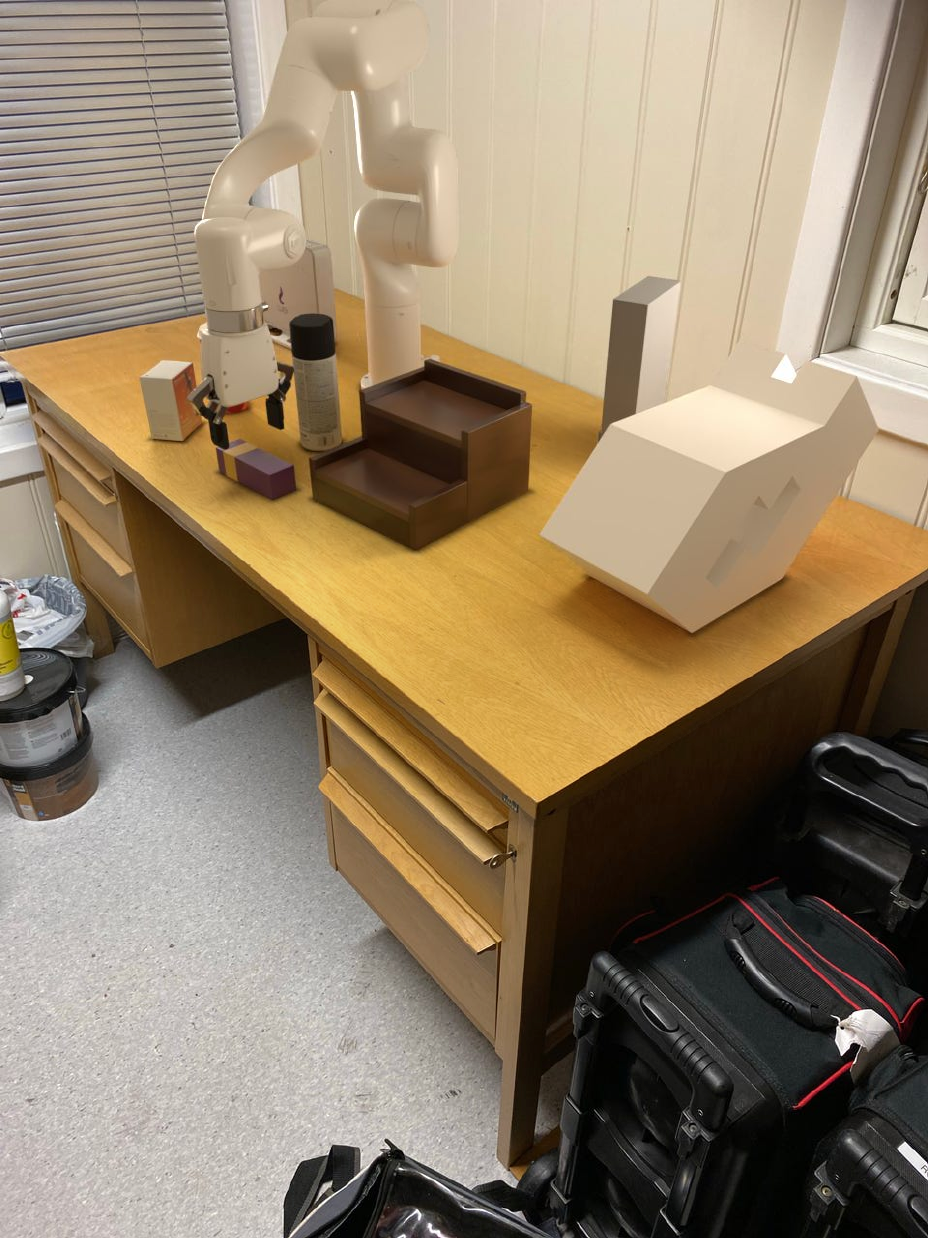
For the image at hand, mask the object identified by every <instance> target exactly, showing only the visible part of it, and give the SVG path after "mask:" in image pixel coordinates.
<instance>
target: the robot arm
mask: <svg viewBox="0 0 928 1238" xmlns="http://www.w3.org/2000/svg"><path fill="white" fill-rule="evenodd" d="M430 41H431V29H430V24H429V20H428V17H427V15H426V12H425V11H424V10H423V8H422V7H421V6H420V5H418V4H417V3H416V2H414V1H412V0H325V1H323V2H321V3H319V5H318V6H317V7H316V9H315V11H314V12H313V16H308V17H303V18H300V19H298V20H296V21H294V23H292V24H291V26H290V27H289V28H288V30H287V32H286V34H285V37H284V41H283V43H282V47H281V51H280V54H279V57H278V61H277V64H276V68H275V70H274V74H273V78H272V81H271V85H270V88H269V92H268V94H267V98H266V102H265V106H264V109H263V113H262V116H261V119H260V121H259V123H258V124H257V125H256V126H255V127H254V128H253V129H252V130H250V131H249V132H248V133H247V134H246V135H245V136H244V137H243V138H241V140H239V142H238V143H237V144H236V145H235V146H234V148H232V150H231V151H230V152H228V154H227V155H225V157H224V159H223V160H222V161H221V162H220V164H219V166H218V167H217V169H216V170H215V173H214V175H213V176H212V180H211V183H210V185H209V189H208V193H207V196H206V200H205V204H204V206H203V207H204V208H203V211H202V212H203V213H202V217H201V221H199V222H198V223H197V224H196V226H195V228H194V232H193V233H194V243H195V244H194V245H195V251H196V258H197V259H196V260H197V264H198V265H197V266H198V272H199V277H200V278H199V279H200V287H201V293H202V300H203V308H204V314H205V321H206V322H205V323H207V329H206V330H203V331H202V338H201V343H200V371H201V382H200V383H199V384H198V385H197V387H196V388H195V389H194V390H193V391H192V392H191V393H190V394H189V395H188V397H187V399H188V401H189V402H190V404H191V405H192V406H193V408H194V409H195V411H196V412H197V413H198V414H200V415H201V416H202V418H204V419H205V420H207V423H208V429H209V437H210V441H211V442H212V444H213V445H214V446H216V447H220V448H222V449H224V450H226V449H229V447H230V446H229V443H230V440H229V431H228V426H227V422H225V421H223V420H224V418H225V416H226V414H227V413H226V412H227V410H228V408H229V407H232V406H236V405H239V404H242V403H245V402H247V403H249V402H251V401H254V400H257V399H260V398H263V397H266V398H265V402H264V403H265V413H266V423H267V425H268V426H270V427H272V428H274V429H277V430H279V431H282V430H284V429H285V412H284V403H285V402H286V400H287V394H288V391H289V390H290V388H291V386H292V383H291V381H292V379H293V377H294V367H293V365H290V364H287V363H284V362H280V361H278V360H277V356H276V352H275V347H274V342H273V341H272V338H271V335H272V334H271V332H270V329H268V326H267V323H265V322H264V321H263V319H264V318H263V313H264V312H265V311H268V304H267V303H266V302H265V301H263V302H262V301H261V293H260V284H259V274H260V273H261V272H265V271H273V270H281V269H285V268H288V267H291V266H292V265H294V264H295V263H296V262H297V261H298V260H299V259H300V258H301V257H302V255H303V253H304V250H305V247H306V238H307V233H306V229H305V227H304V225H303V224H302V221H300V219H299V218H297V216H295V215H294V214H292V213H290V212H288V211H287V210H286V211H285V210H284V209H283V210H282V209H277V208H269V207H263V206H256V205H249V202H250V200H251V198H252V197H253V194H254V193H255V192H256V190H257V189H258V188H259V187H260V186H261V185H262V184H263V183H264V182H266V181H267V180H268V179H269V178H271V177H273V176H275V175H276V174H278V173H280V172H282V171H285V170H287V169H289V168H291V167H294V166H296V165H298V164H301V163H303V162H305V161H307V160H309V159H311V158H313V157H314V156H316V155H317V154H318V153H319V152H320V151H321V149H322V147H323V144H324V140H325V137H326V134H327V129H328V126H329V122H330V119H331V115H332V112H333V109H334V105H335V101H336V100H337V96H338V94H339V93H340V92H342V91H343V92H350V93H351V94H350V95H351V98H352V104H353V113H354V125H355V127H354V128H355V137H356V138H355V140H356V149H357V150H356V151H357V162H358V168H359V173H360V177H361V180H362V182H363V183H364V184H365V185H366V186H367V187H368V188H370V189H373V190H376V191H381V192H385V193H394V194H402V195H411V196H418V198H419V201H411V200H406V199H405V200H404V199H397V198H387V197H386V198H382V197H380V198H374V199H370V200H368V201H366V202H364V203H363V204H362V205H361V206H360V207H359V209H358V210H357V212H356V214H355V216H354V225H353V231H354V238H355V244H356V247H357V251H358V256H359V260H360V265H361V271H362V279H363V280H362V281H363V294H364V295H363V296H364V313H365V315H364V316H365V330H366V331H365V333H366V351H367V366H368V372H367V373H366V374H364V376H362V377H361V379H360V389H361V390H362V389H365V388H367V387H370V386H373V385H375V384H378V383H381V382H384V381H386V380H389V379H392V378H394V377H397V376H400V375H402V374H405V373H408V372H411V371H413V370H416V369H419V368H421V367H424V360H427V359H432V360H435V361H438V362H441V360H440V359H441V358H440V356H439V355H438V354H432V355H429V356H427V357H425V356H424V354H422V334H421V333H422V331H421V329H422V328H421V327H422V326H421V290H420V284H419V279H418V277H417V274H416V273H415V270H414V269H413V267H412V266H414V265H415V266H419V267H427V268H443V267H446V266H448V265H449V264H451V263H452V262H453V260H454V259H455V257H456V255H457V252H458V248H459V242H460V189H459V186H460V185H459V183H460V182H459V160H458V156H457V151H456V148H455V145H454V143H453V141H452V139H451V138H450V137H449V136H448V135H447V134H446V133H445V132H443V131H441V130H438V129H435V128H427V127H414V126H413V124H412V120H411V115H410V113H411V112H410V101H409V92H408V86H407V83H406V81H405V78H404V77H406V76H407V75H409V74H411V73H412V72H414V71H415V70H416V69H418V68H419V67H420V66H421V64H422V63H423V62H424V60H425V58H426V56H427V54H428V51H429V47H430ZM279 373H280V374H279ZM204 399H206V400H209V401H208V403H207V405H206V404H205V403H204ZM218 405H219V406H218ZM217 407H218V408H217ZM216 409H217V410H216Z"/></svg>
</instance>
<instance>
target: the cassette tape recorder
mask: <svg viewBox="0 0 928 1238" xmlns="http://www.w3.org/2000/svg"><path fill="white" fill-rule="evenodd" d="M681 285H682V280H678V279H671V278H665V277H658V276H654V275H653V276H652V275H647V276H646V277H644V278H643V279H641V280H639V281H638V282H636V283H635V284H634V285H632V286H630V287H629V288H628V289H626V290H624V291H623V292H622V293H620V294H619V295H617V296H616V297H614V298H613V299H612V305H611V306H612V307H611V317H610V328H609V338H608V339H609V340H608V350H607V361H606V371H605V384H604V393H603V407H602V415H601V416H602V417H601V426H600V428H601V429H600V430H598V433H597V444H598V443H599V441H600V439H601V438H602V436H603V435H604V433H605V432H606V430H607V429H608V427H609V425H610V424H612V423H614V422H617V421H620V420H622V419H625V418H627V417H630V416H632V415H635V414H638V413H640V412H643V411H645V410H648V409H650V408H653V407H656V406H658V405H661V404H663V403H666V402H667V393H668V384H669V378H670V370H671V364H672V363H671V361H672V355H673V354H672V353H673V347H674V339H675V332H676V331H675V330H676V323H677V315H678V307H679V300H680V291H681ZM597 444H596V445H597Z"/></svg>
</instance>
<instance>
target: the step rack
mask: <svg viewBox="0 0 928 1238" xmlns="http://www.w3.org/2000/svg"><path fill="white" fill-rule="evenodd" d="M358 396H359V397H358V398H359V413H360V414H359V415H360V429H361V436H358V437H356V438H353V439H351V440H349V441H347V442H344V443H341V444H340V445H339V446H336V447H334V448H332V449H329V450H327V451H321V452H318V453H317V454H314V455H312V456H310V457H308V465H309V466H308V467H309V474H310V475H309V477H310V484H311V494H312V499H313V500H314V501H316V502H319V504H322V505H325V506H326V507H328V508H330V509H332V510H334V511H336V512H338V513H340V514H342V515H344V516H346V517H348V518H350V519H352V520H354V521H356V522H358V523H360V524H362V525H363V526H365V527H367V528H370V529H372V530H374V531H376V532H378V533H380V534H382V535H384V536H386V537H388V538H390V539H392V540H393V541H395V542H398V543H400V544H402V545H403V546H406V547H408V548H410V549H411V550H414V551H418V550H421V549H422V548H424V547H425V546H426V547H427V546H428V545H429V544H431V543H433V542H435V541H437V540H439V539H440V538H443V537H444V536H447V535H448V534H450V533H452V532H454V531H455V530H457V529H460V528H461V527H464V526H465V525H467V524H469V523H471V522H473V521H475V520H477V519H478V518H481V517H482V516H484V515H486V514H488V513H490V512H491V511H493V510H496V509H497V508H499V507H501V506H503V505H505V504H507V503H509V502H511V501H513V500H514V499H516V498H519V497H520V496H522V495H524V494H526V493H528V492H529V486H530V485H529V484H530V465H531V464H530V463H531V443H532V442H531V441H532V423H533V421H532V419H533V403H531V402H527V391H526V390H523V389H521V388H517V387H514V386H511V385H508V384H507V383H506V384H505V383H502V382H499V381H497V380H494V379H490V378H488V377H485V376H482V375H480V374H476V373H474V372H470V371H467V370H464V369H461V368H459V367H455V366H452V365H449V364H446V363H443V362H441V361H440V362H438V361H435V360H432V359H427V360H424V367H421V368H419V369H416V370H413V371H411V372H408V373H405V374H402V375H400V376H397V377H394V378H392V379H389V380H386V381H384V382H381V383H378V384H375V385H373V386H370V387H367V388H365V389H362V388H361V389H359V390H358Z"/></svg>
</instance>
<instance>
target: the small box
mask: <svg viewBox="0 0 928 1238" xmlns="http://www.w3.org/2000/svg"><path fill="white" fill-rule="evenodd" d="M139 382H140V383H139V384H140V387H141V391H142V392H141V393H142V397H143V403H144V407H145V411H146V412H145V413H146V417H147V423H148V428H149V431H150V437H151V439H152V440H163V441H177V442H184V441H185V439H187V438H188V437H189V436H190V435H191V434H192V433H193V432H194V431H195V430H196V429H197V428H199V427H200V426H202V424H203V416H201V415H200V414H198V413H197V412H196V411H195V409H194V408H193V406H192V405H191V404H190V402H189V401H188V399H187V397H188V395H189V394H190V393H191V392H192V391H193V390H194V389H195V388H196V387H197V386H198V385H197V380H196V373H195V366H194V362H192V361H181V360H180V361H179V360H167V359H162V360H160V361H159V362H158V363H157V364H155V365H154V366H153V367H152V368H151V369H149V370H147V372H145V373H144V374H142V375H140V376H139Z"/></svg>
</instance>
